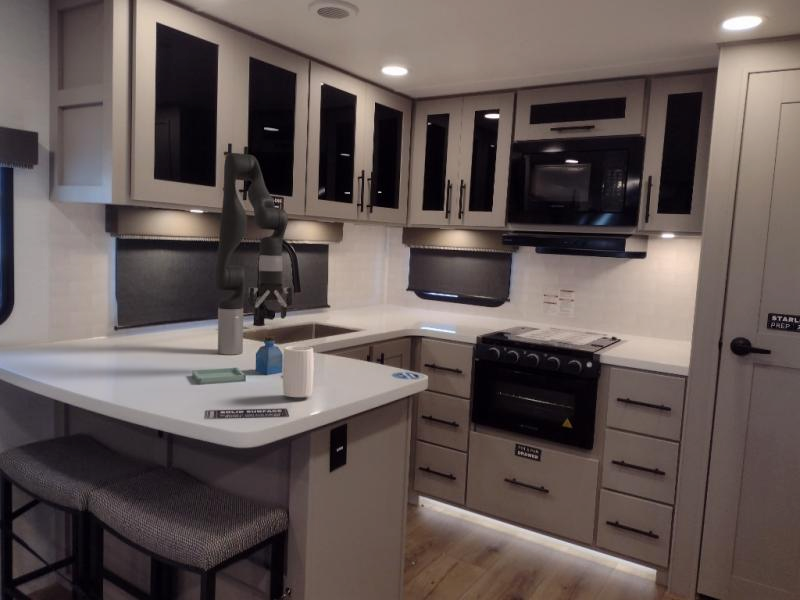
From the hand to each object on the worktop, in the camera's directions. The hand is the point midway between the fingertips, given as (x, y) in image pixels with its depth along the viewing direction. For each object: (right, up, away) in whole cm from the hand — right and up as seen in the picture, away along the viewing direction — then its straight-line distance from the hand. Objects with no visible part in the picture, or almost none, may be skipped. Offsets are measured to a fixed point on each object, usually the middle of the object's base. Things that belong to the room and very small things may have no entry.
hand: (269, 318), depth 197 cm
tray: (-14, -19, -10) cm, 25 cm away
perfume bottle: (-1, -18, +2) cm, 18 cm away
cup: (+14, -22, -29) cm, 39 cm away
